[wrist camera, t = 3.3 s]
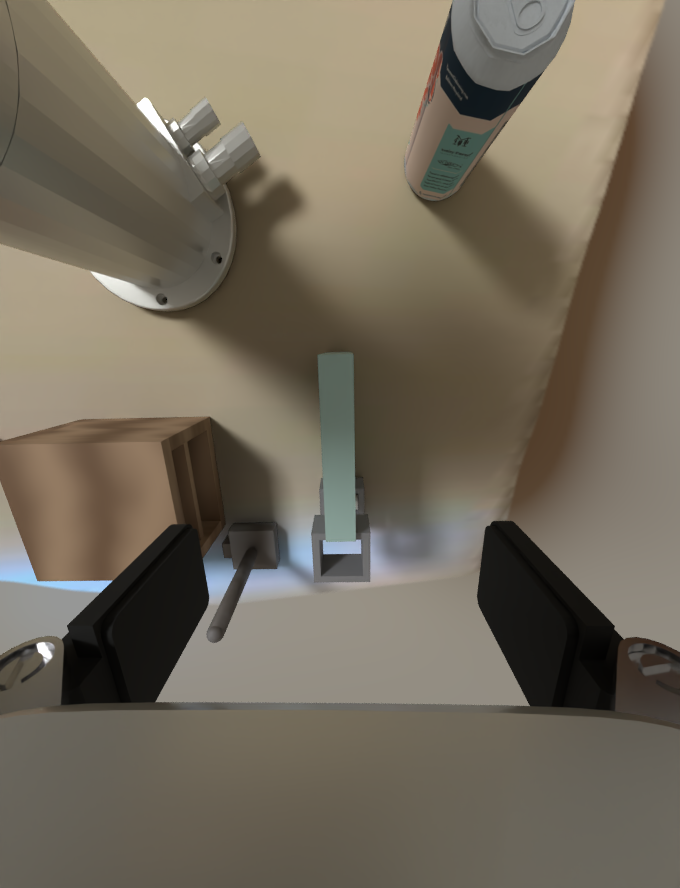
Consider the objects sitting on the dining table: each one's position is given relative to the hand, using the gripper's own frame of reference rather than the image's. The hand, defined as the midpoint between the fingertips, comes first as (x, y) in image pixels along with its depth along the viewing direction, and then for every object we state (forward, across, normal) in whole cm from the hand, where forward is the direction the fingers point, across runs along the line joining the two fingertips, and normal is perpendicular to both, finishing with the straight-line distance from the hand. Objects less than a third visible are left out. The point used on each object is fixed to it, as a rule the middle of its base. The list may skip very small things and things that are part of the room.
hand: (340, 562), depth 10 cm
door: (+20, 0, +1) cm, 20 cm away
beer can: (+20, -7, -19) cm, 28 cm away
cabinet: (+19, +16, +7) cm, 26 cm away
